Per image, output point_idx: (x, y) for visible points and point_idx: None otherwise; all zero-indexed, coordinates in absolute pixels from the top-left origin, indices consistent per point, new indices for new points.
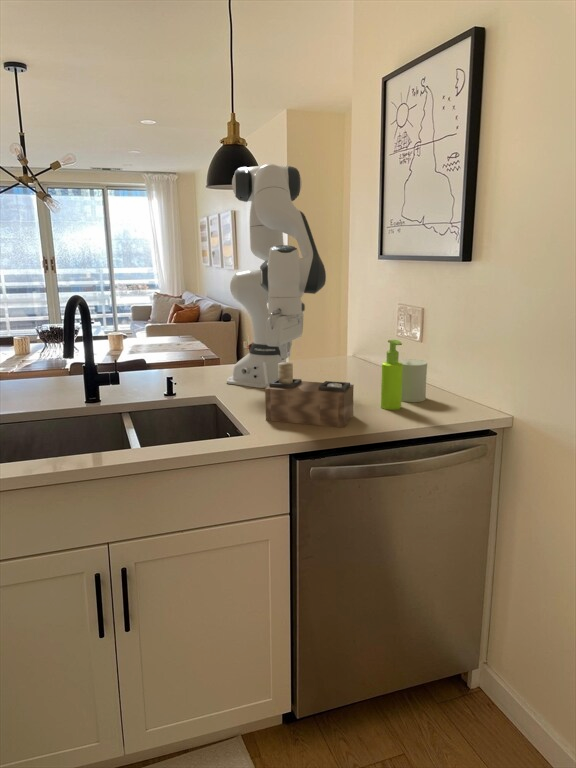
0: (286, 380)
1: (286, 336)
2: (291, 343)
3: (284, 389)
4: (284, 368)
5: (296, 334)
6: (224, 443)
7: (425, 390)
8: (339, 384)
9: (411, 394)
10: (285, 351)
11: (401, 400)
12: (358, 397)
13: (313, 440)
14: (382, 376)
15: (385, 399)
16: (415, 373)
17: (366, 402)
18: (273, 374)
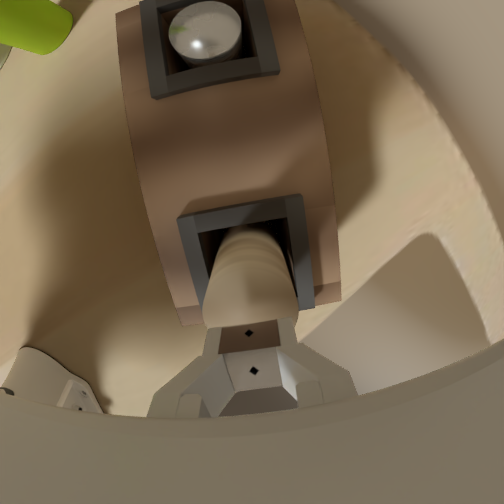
0: (279, 251)
1: (467, 427)
2: (160, 399)
3: (329, 223)
4: (293, 288)
5: (53, 437)
6: (471, 245)
7: None
8: (187, 15)
9: None
10: (309, 353)
11: (9, 50)
12: (10, 145)
13: (403, 68)
14: (9, 20)
15: (56, 22)
16: None
17: (34, 100)
18: (49, 384)
